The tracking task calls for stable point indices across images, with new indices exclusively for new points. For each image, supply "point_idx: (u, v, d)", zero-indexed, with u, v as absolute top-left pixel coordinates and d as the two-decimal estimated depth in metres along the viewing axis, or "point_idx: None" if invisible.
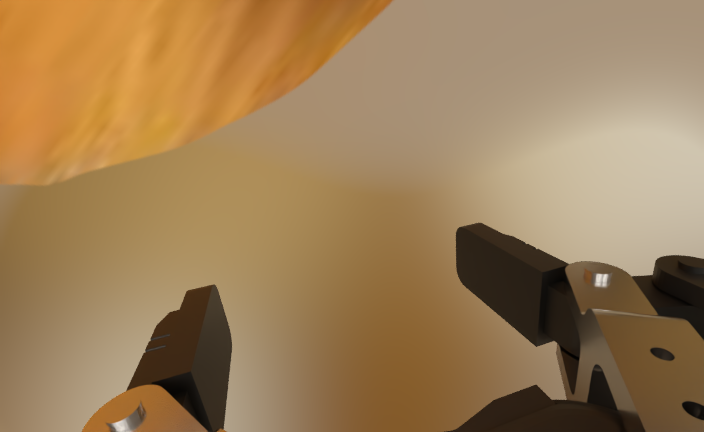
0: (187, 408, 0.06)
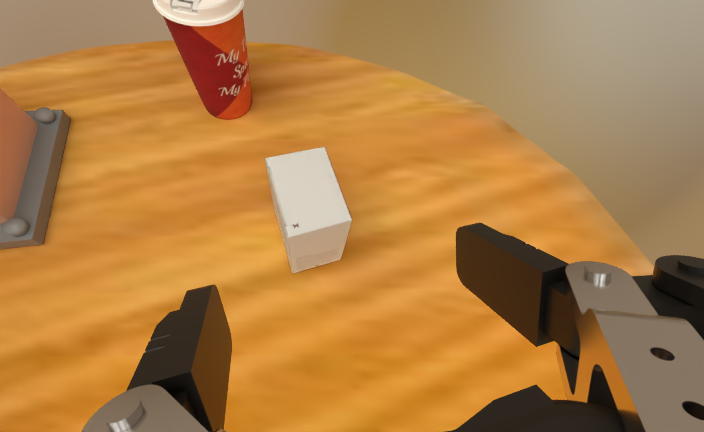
0: (187, 408, 0.06)
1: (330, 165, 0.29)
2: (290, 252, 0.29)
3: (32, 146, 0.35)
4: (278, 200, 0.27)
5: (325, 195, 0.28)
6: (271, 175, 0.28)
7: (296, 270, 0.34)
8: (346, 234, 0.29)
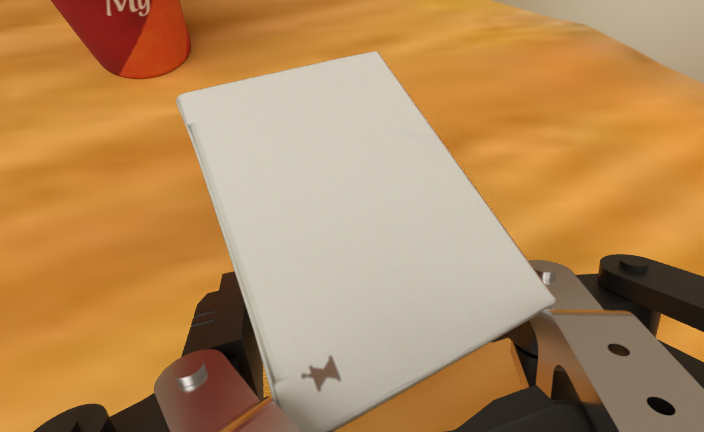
0: (238, 372, 0.07)
1: (410, 102, 0.08)
2: None
3: None
4: (233, 252, 0.06)
5: (423, 207, 0.07)
6: (200, 153, 0.07)
7: None
8: None
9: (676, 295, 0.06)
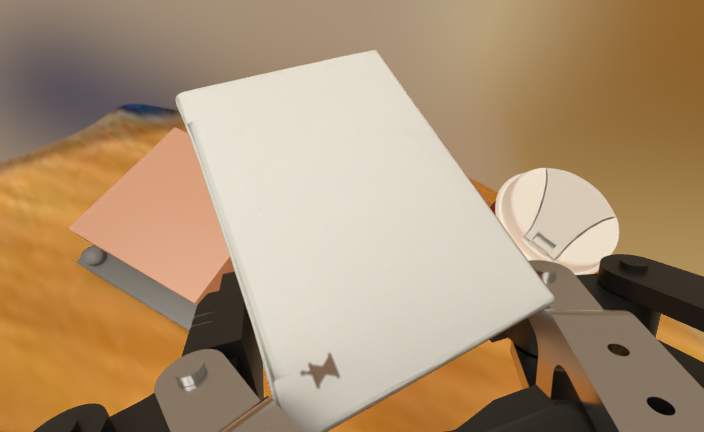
0: (239, 372, 0.07)
1: (409, 100, 0.08)
2: None
3: None
4: (232, 250, 0.06)
5: (421, 205, 0.07)
6: (199, 152, 0.07)
7: None
8: None
9: (676, 295, 0.06)
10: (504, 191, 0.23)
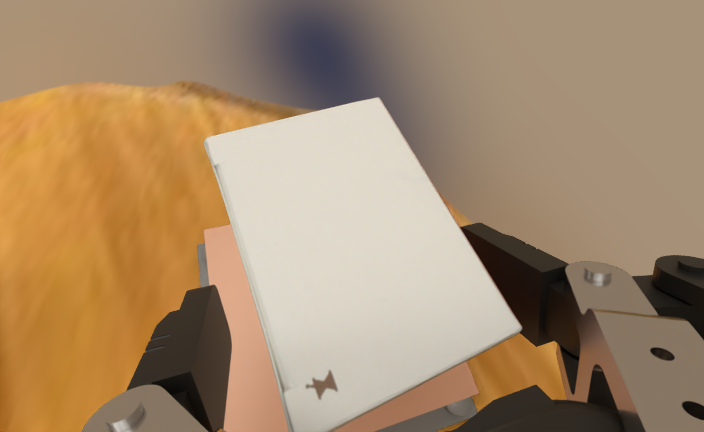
0: (187, 408, 0.06)
1: (406, 146, 0.10)
2: None
3: None
4: (251, 279, 0.07)
5: (412, 244, 0.08)
6: (224, 191, 0.08)
7: None
8: None
9: None
10: None
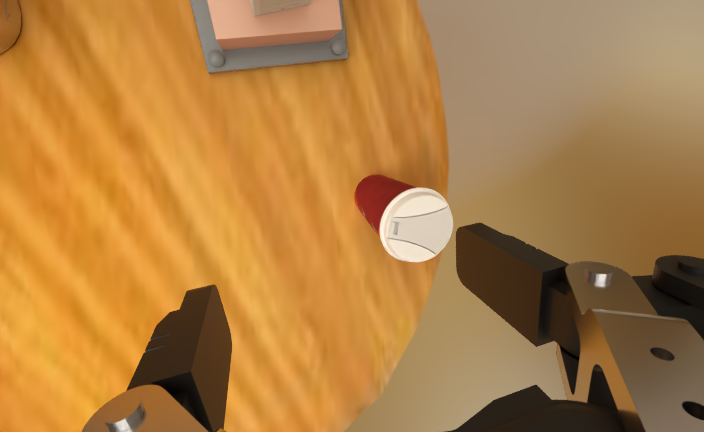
0: (187, 408, 0.06)
1: None
2: None
3: (304, 43, 0.38)
4: None
5: None
6: None
7: (259, 13, 0.30)
8: None
9: None
10: (418, 191, 0.33)
